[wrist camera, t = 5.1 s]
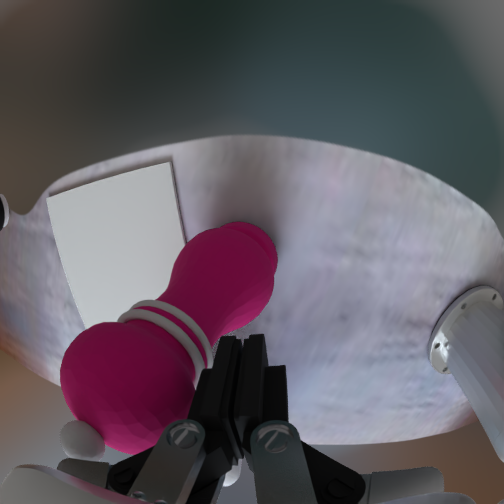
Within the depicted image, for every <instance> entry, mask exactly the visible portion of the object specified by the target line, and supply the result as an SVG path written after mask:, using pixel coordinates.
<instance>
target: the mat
mask: <svg viewBox="0 0 504 504" xmlns="http://www.w3.org/2000/svg"><path fill="white" fill-rule="evenodd" d="M46 200H47V205H48V210H49V215H50V220H51V224H52V228H53V233H54V237H55V241H56V244H57V248H58V252H59V255H60V259H61V262H62V265H63V268H64V272H65V275H66V278H67V281H68V284H69V287H70V289H71V292H72V295H73V298H74V300H75V303H76V306H77V308H78V311H79V313H80V316H81V318H82V320H83V323H84V325H85V328H86V329H88V328H90V327H91V326H93V325H95V324H98V323H102V322H117V320H118V318H119V317H120V316H121V315H122V314H123V313H124V312H127V311H129V309H130V308H131V307H132V306H133V305H134V304H136V303H137V302H139V301H142V300H155V299H157V298H158V297H159V296H160V295H161V294H162V293H163V292H164V291H165V290H166V289H167V287H168V284H169V281H170V277H171V272H172V269H173V265H174V262H175V260H176V259H177V257H178V255H179V253H180V252H181V250H182V249H183V247H184V246H185V245H186V240H185V235H184V230H183V225H182V220H181V215H180V209H179V204H178V198H177V192H176V187H175V181H174V175H173V168H172V162H166V163H162V164H158V165H153V166H149V167H145V168H141V169H138V170H134V171H130V172H126V173H123V174H119V175H116V176H112V177H109V178H105V179H102V180H99V181H95V182H92V183H89V184H86V185H83V186H80V187H77V188H74V189H71V190H68V191H65V192H63V193H60V194H57V195H54V196H52V197H49V198H46Z"/></svg>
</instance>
